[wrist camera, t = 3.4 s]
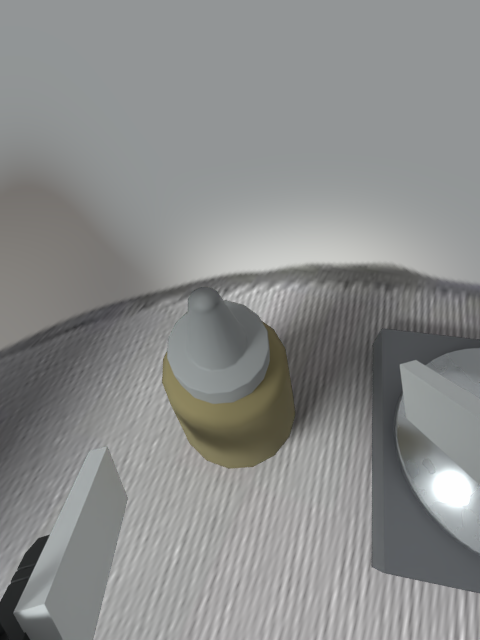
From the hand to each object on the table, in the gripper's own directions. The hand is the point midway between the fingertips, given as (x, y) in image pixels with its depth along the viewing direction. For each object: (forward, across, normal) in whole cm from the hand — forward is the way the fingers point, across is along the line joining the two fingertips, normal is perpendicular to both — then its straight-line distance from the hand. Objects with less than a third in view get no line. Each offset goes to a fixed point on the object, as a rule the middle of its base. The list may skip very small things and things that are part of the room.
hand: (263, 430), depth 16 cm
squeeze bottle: (+12, -1, -6) cm, 14 cm away
